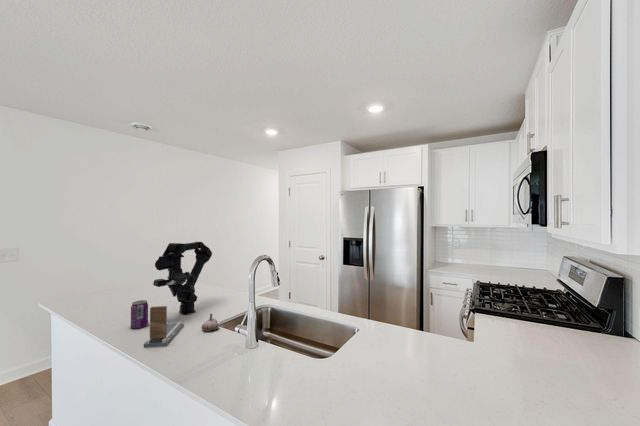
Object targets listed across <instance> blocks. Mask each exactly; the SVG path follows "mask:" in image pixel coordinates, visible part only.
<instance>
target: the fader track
mask: <svg viewBox="0 0 640 426" xmlns="http://www.w3.org/2000/svg"><path fill="white" fill-rule="evenodd" d="M184 326H185V324H184V323H182V321H178V323H169V322H168V321H167V335H166V337H165V338H164V339H163V340H162V342H154V343H151V339H150V337H149V338H148V339H147V340H146V341H145V342H144V343H143V348H156V347H157V348H159V347H168V346H169V344H170V343H172V341H173V340H174V339H175V337H176V336H177V335H178V334H179V332H181V330H182V329H183V328H184Z"/></svg>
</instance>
